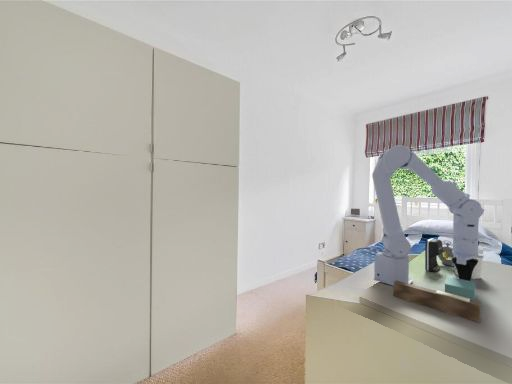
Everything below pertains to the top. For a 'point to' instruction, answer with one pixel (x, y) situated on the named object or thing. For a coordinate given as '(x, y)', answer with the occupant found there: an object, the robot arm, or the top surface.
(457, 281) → the teal block
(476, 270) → the white cup
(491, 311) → the top surface
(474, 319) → the walnut board
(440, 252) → the battery charger
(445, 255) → the pocket watch
